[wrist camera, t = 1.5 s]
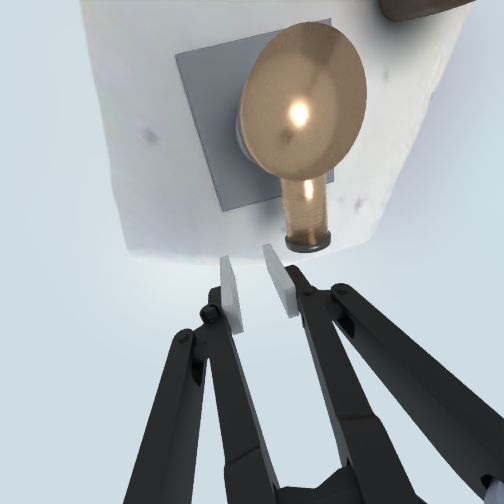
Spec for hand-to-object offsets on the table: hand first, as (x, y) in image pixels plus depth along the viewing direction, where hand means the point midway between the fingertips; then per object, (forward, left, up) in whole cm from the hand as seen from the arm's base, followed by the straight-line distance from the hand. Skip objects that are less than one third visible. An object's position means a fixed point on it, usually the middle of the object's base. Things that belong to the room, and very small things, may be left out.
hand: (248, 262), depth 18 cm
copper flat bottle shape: (-10, -6, -14) cm, 18 cm away
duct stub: (-12, -11, -25) cm, 29 cm away
